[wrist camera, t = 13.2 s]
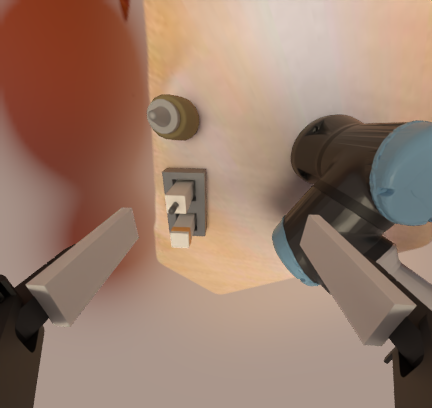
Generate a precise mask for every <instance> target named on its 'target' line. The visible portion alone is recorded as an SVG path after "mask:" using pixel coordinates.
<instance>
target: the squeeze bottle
mask: <svg viewBox="0 0 432 408" xmlns="http://www.w3.org/2000/svg"><path fill="white" fill-rule="evenodd" d="M147 118H148V122H149V123H150V126H151V127H152V129H153V130H154V131H155V132H156V133H157V134H158V135H159V136H161V137H163V138H165V139H171V140H187V139H189V138H191V137H192V136H193V135H194V134H195V133H196V132H197V129H198V126H199V115H198V112H197V110H196V107H195V106H194V105H193V104H192V103H191V102H190V101H189V100H187V99H185V98H183V97H179V96H174V95H160V96H158V97H156V98H154V99H153V101H152V102H151V104H150V105H149V107H148V110H147Z"/></svg>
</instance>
